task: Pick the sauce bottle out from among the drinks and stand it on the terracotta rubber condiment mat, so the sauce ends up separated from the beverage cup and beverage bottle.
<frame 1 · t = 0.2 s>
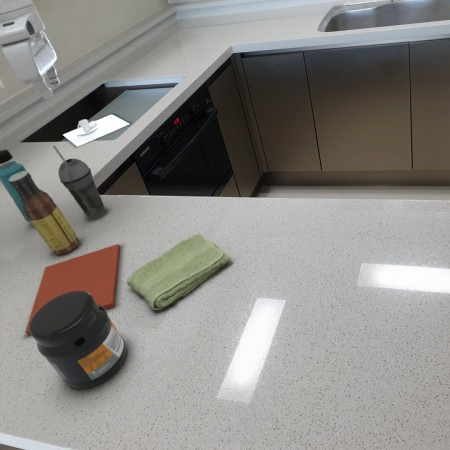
hand: (53, 91, 100), 31 cm above the table, tool pointing down, fingers open, 8 cm apart
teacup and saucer: (96, 129, 172), on the table
beverage bottle: (42, 221, 120), on the table
washcloth: (181, 275, 90), on the table
supplement container: (97, 364, 75), on the table
condiment mat: (78, 287, 93), on the table
sauce bottle: (66, 248, 107), on the table
beverage cup: (97, 214, 117), on the table
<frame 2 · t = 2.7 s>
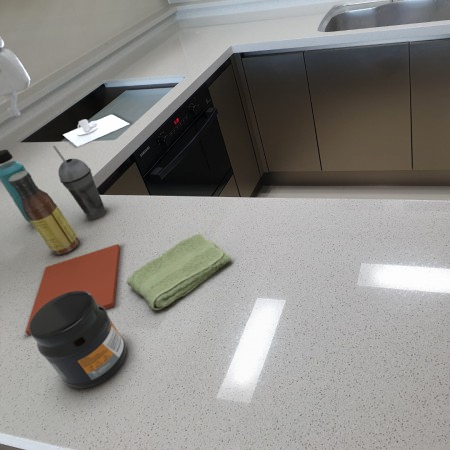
nothing on the table moved.
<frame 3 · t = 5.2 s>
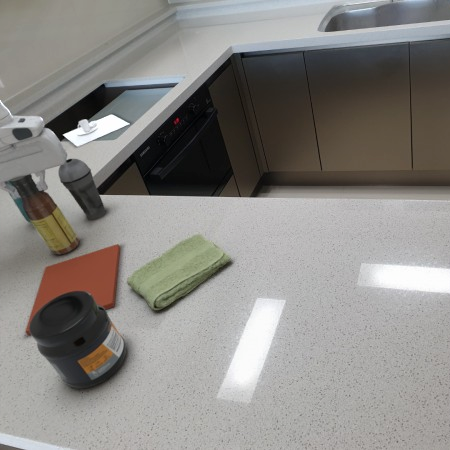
hand: (32, 193, 98), 15 cm above the table, tool pointing down, fingers closed on sauce bottle, 4 cm apart
sauce bottle: (66, 248, 107), on the table, touching gripper
everything else where it was.
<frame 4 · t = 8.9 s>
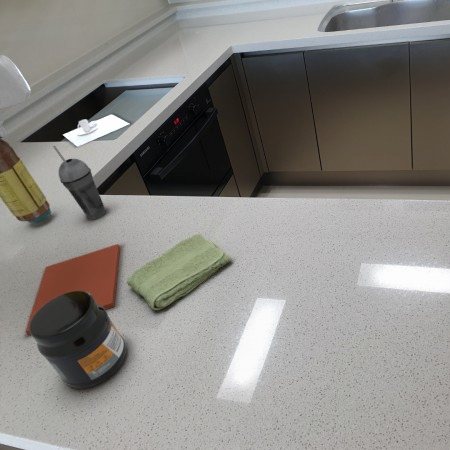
sauce bottle: (34, 215, 86), point 17 cm above the table, touching gripper
everything else where it was.
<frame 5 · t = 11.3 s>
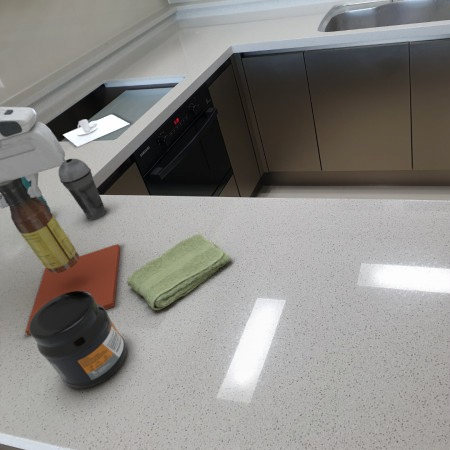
hand: (22, 201, 81), 21 cm above the table, tool pointing down, fingers closed on sauce bottle, 4 cm apart
sauce bottle: (64, 265, 90), point 6 cm above the table, touching gripper
everything else where it was.
when the fingers open (16 cm above the table, at t = 12.9 s): sauce bottle stays where it is, resting on condiment mat.
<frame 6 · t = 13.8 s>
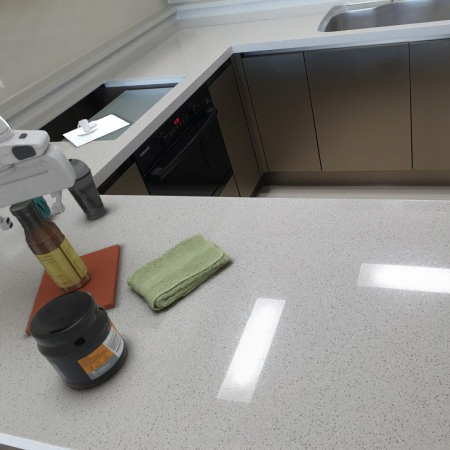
hand: (34, 220, 84), 17 cm above the table, tool pointing down, fingers open, 8 cm apart
sauce bottle: (76, 284, 93), point 1 cm above the table, touching condiment mat
everything else where it was.
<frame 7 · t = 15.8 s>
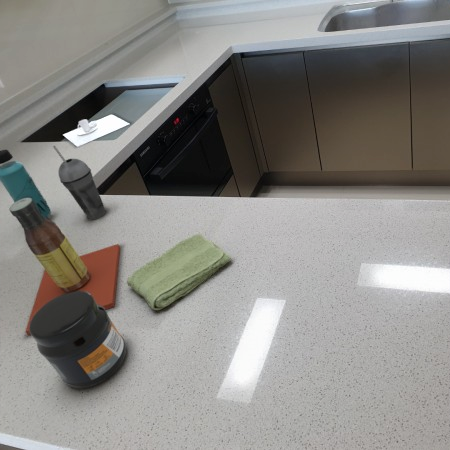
nothing on the table moved.
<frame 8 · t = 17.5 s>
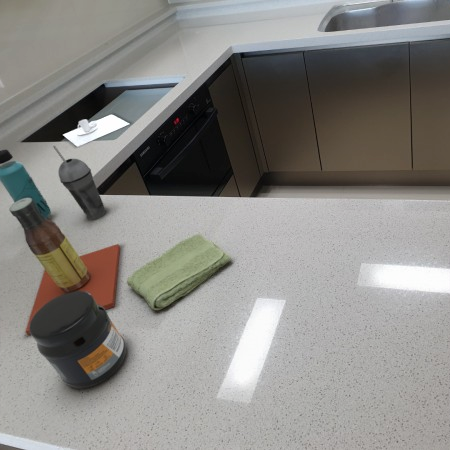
nothing on the table moved.
at the end: sauce bottle inside the target area (0.1 cm from its centre), point 0.8 cm above the table; sauce bottle tilted 0°; beverage cup moved 0.2 cm from its start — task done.
